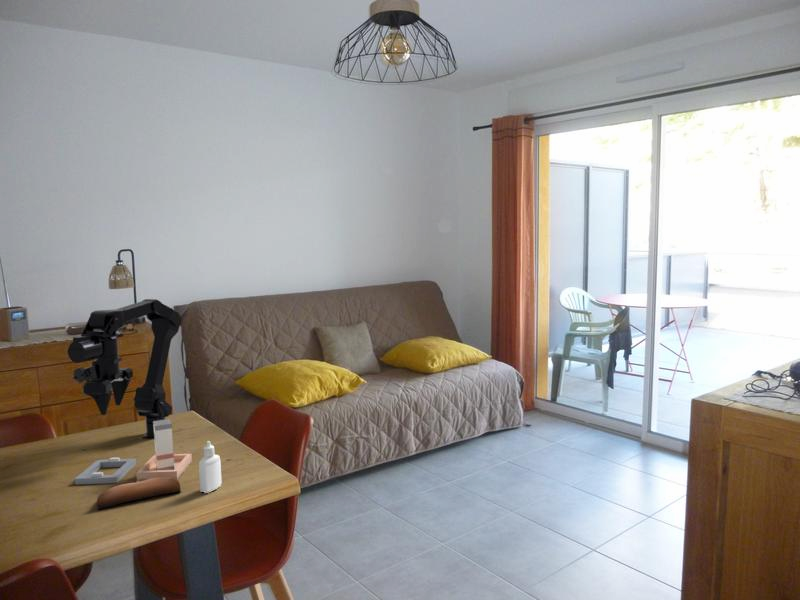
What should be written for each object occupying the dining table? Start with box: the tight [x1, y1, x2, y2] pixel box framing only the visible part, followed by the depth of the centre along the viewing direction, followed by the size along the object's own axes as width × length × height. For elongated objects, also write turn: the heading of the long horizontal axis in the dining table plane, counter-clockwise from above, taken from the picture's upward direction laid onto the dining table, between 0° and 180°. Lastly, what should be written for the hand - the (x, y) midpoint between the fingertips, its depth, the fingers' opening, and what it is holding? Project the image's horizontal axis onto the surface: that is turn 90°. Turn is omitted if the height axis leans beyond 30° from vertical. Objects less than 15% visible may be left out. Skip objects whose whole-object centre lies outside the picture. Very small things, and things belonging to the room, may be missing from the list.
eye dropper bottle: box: [198, 440, 223, 494], centre depth 141 cm, size 4×6×12 cm
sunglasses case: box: [96, 477, 182, 510], centre depth 139 cm, size 18×7×7 cm
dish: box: [135, 453, 193, 481], centre depth 153 cm, size 12×10×2 cm
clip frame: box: [74, 457, 137, 485], centre depth 152 cm, size 12×10×2 cm
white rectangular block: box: [153, 418, 175, 470], centre depth 152 cm, size 5×4×12 cm
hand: (111, 409), depth 165 cm, fingers open, 9 cm apart
